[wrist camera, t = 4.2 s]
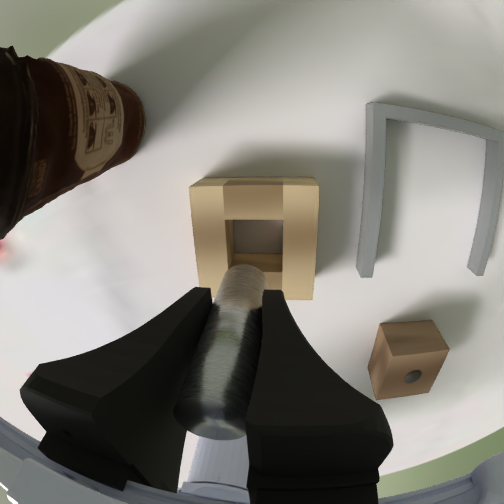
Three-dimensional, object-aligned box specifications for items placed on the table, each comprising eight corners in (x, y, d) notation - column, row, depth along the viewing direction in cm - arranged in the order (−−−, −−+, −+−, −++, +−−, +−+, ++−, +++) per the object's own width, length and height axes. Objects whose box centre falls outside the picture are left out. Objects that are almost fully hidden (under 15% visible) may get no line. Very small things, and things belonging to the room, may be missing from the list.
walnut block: (415, 361, 23) (428, 393, 19) (367, 366, 23) (376, 400, 19) (431, 319, 21) (450, 350, 17) (379, 322, 21) (392, 357, 17)
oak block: (309, 279, 20) (312, 300, 18) (210, 277, 21) (201, 296, 18) (314, 177, 17) (319, 186, 15) (201, 178, 18) (188, 187, 16)
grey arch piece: (474, 266, 18) (483, 275, 17) (356, 267, 19) (360, 277, 18) (494, 130, 14) (506, 132, 12) (365, 104, 15) (372, 102, 14)
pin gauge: (269, 303, 13) (254, 442, 7) (225, 304, 13) (184, 436, 7) (266, 263, 12) (246, 402, 6) (219, 264, 12) (163, 395, 6)
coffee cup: (134, 42, 14) (-19, -7, 2) (186, 139, 17) (25, 179, 5) (52, 114, 17) (-90, 142, 5) (93, 202, 19) (-44, 286, 7)
